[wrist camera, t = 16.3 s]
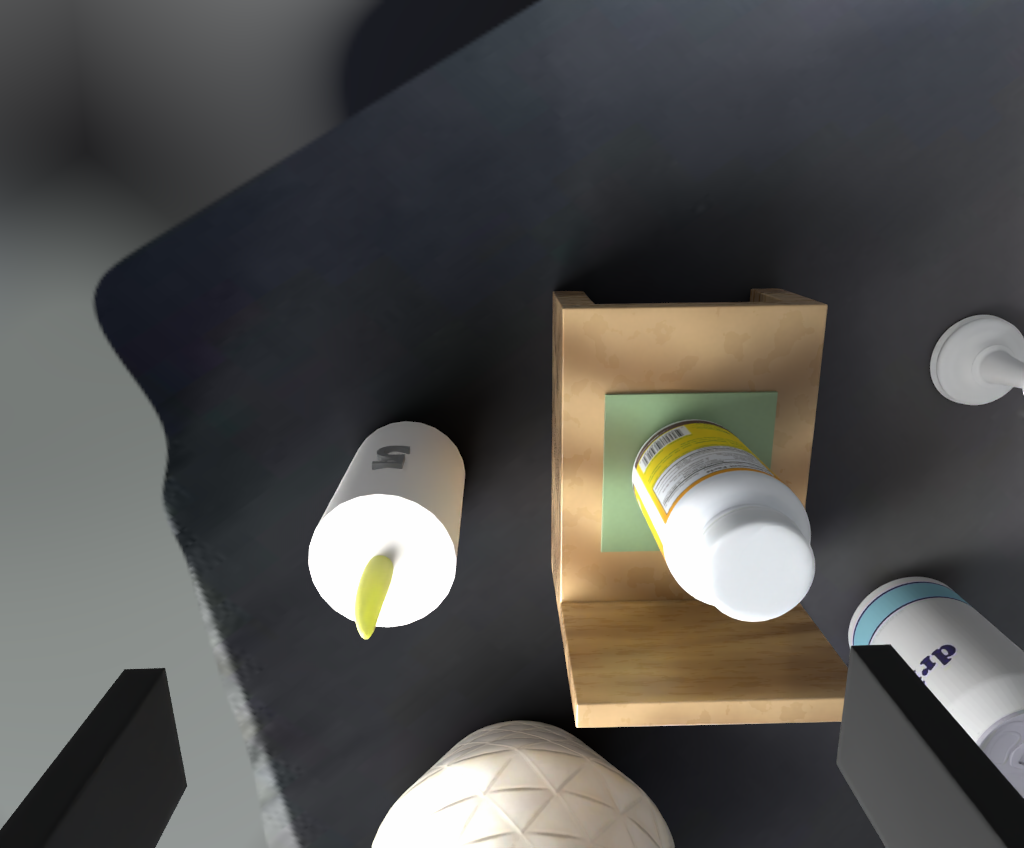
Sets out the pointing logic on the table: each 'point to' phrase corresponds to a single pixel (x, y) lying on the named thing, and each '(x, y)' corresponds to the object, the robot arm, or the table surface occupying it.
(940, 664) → the beverage can
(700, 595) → the supplement bottle
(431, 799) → the vase
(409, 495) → the candle
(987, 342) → the chess piece
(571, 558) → the shelf
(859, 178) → the table surface
